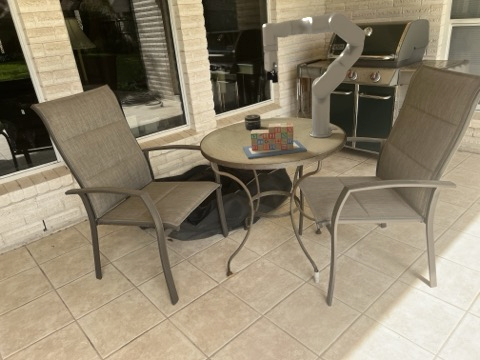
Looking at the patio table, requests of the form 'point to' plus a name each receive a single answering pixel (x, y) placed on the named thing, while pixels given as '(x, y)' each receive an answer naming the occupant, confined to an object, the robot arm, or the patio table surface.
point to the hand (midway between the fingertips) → (272, 81)
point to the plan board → (273, 151)
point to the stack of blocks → (273, 137)
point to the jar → (252, 122)
